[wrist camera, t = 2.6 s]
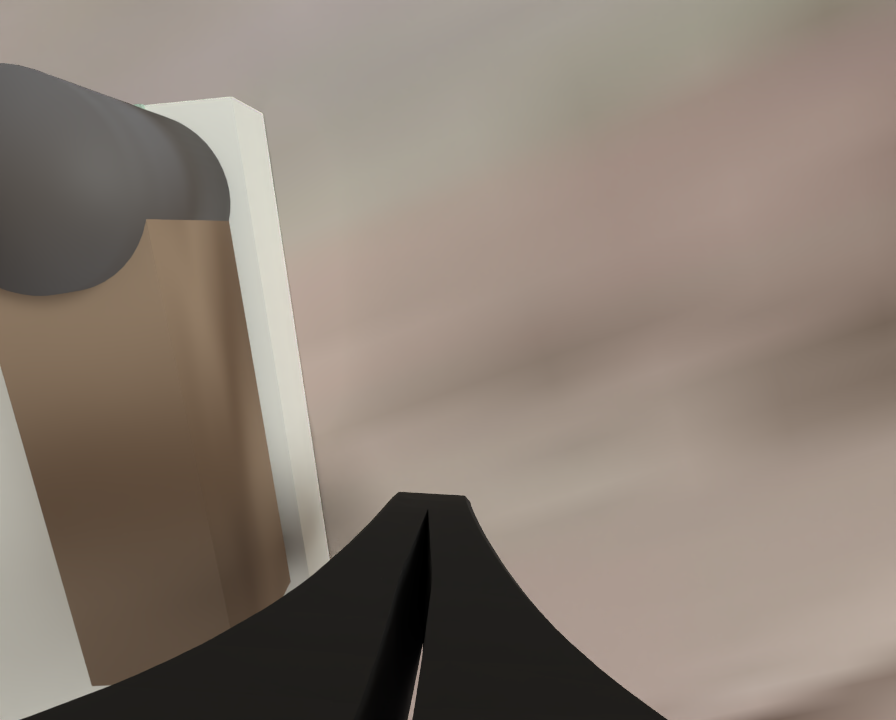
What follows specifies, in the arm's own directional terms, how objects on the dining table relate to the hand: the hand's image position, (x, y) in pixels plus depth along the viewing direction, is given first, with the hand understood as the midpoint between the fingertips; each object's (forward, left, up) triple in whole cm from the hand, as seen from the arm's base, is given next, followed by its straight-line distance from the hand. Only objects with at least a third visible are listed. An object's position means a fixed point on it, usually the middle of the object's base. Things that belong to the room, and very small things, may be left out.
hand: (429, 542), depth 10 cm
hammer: (+3, +5, -1) cm, 6 cm away
